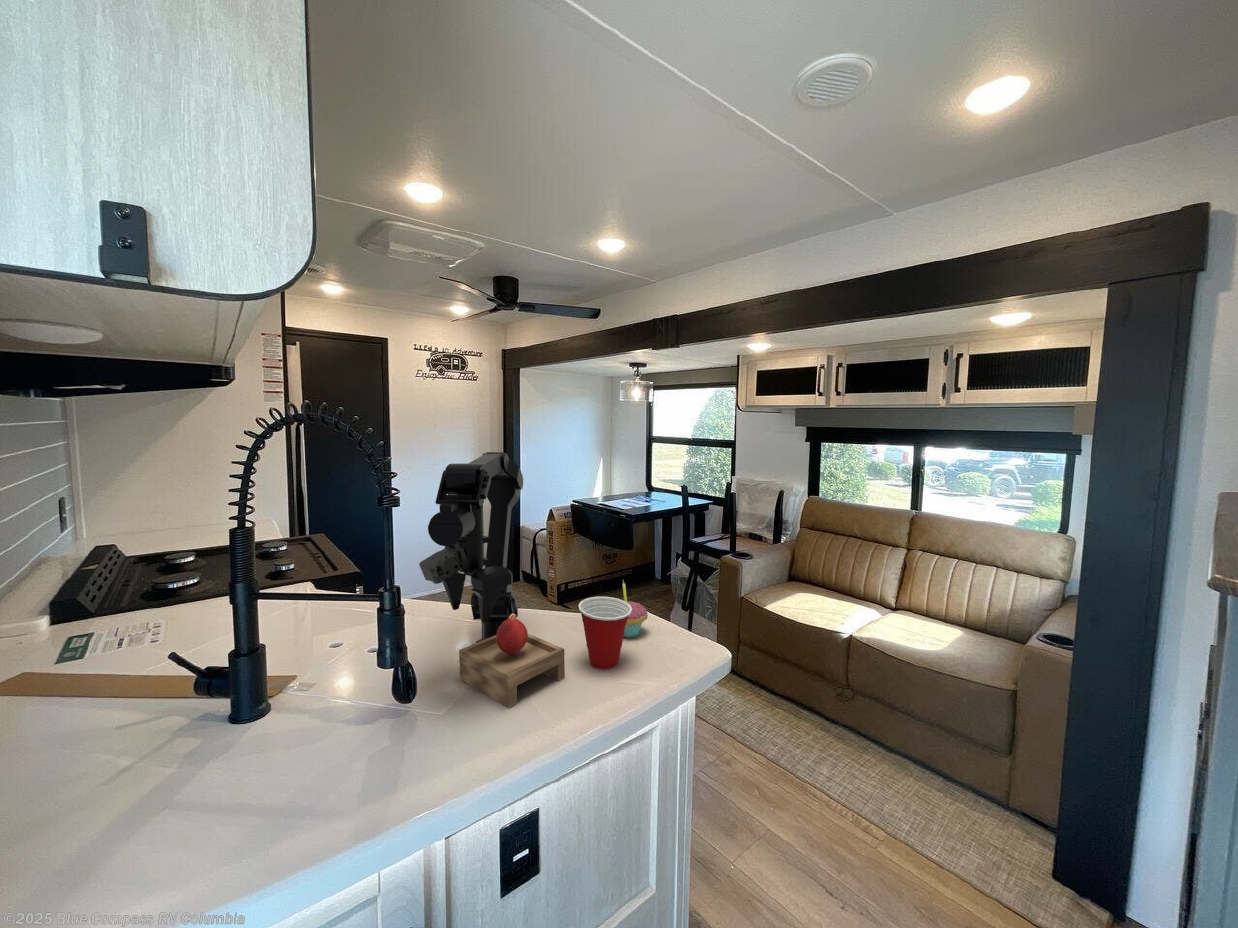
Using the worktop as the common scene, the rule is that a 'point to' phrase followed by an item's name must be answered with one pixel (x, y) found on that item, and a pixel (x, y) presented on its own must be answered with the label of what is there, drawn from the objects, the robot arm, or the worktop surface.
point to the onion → (511, 635)
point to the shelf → (509, 666)
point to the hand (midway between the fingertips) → (469, 615)
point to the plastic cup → (604, 629)
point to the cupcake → (634, 617)
